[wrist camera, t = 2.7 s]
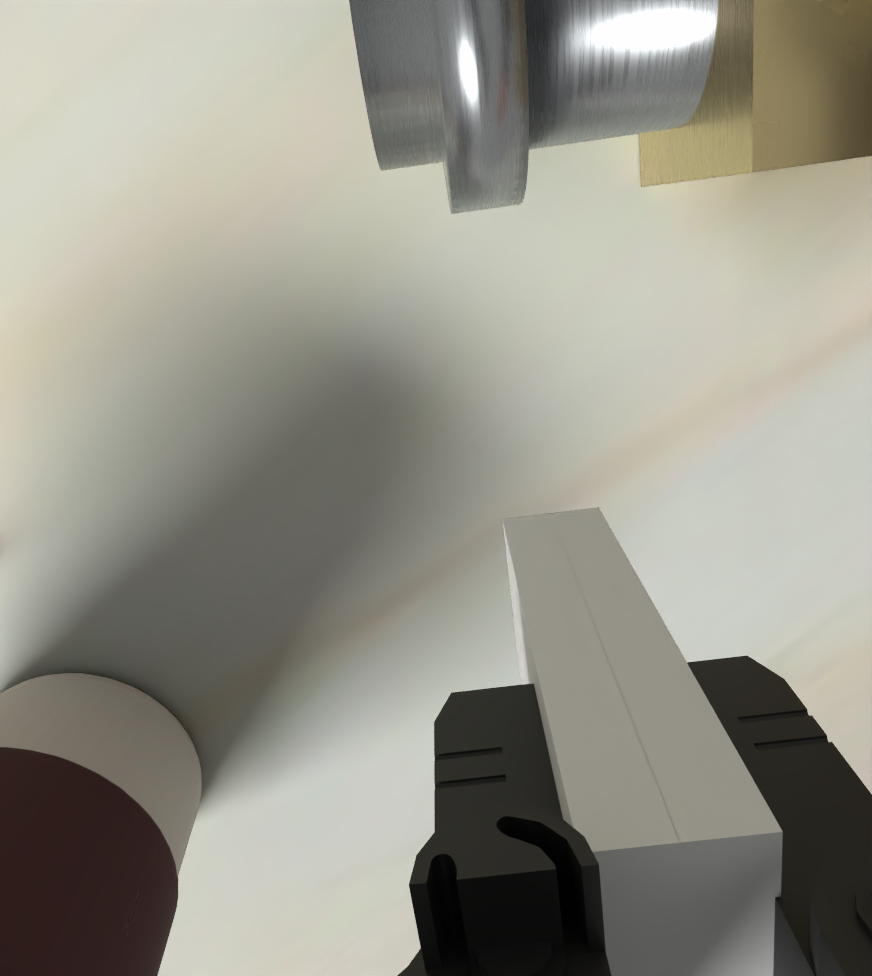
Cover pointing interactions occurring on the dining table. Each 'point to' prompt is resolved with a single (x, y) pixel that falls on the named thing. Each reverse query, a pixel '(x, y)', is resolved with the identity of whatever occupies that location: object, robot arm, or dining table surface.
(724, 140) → the valve
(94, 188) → the dining table surface
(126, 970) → the coffee cup
